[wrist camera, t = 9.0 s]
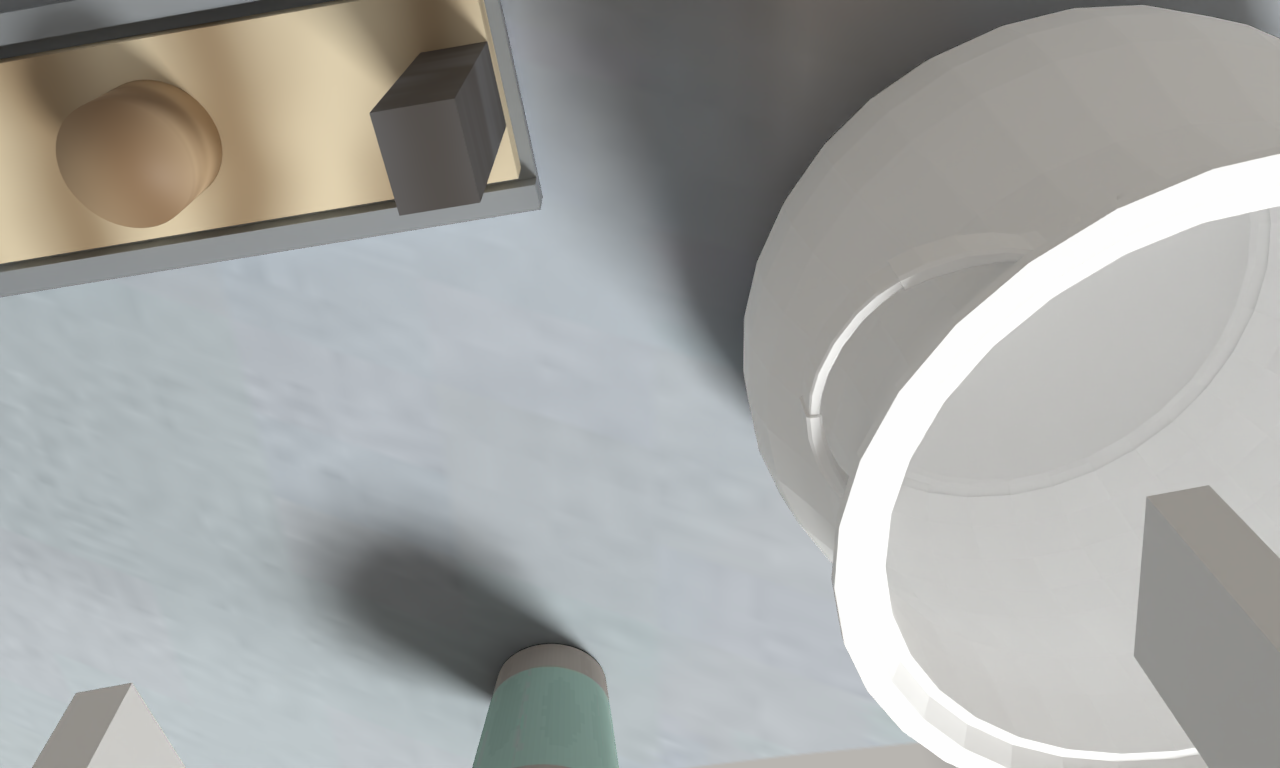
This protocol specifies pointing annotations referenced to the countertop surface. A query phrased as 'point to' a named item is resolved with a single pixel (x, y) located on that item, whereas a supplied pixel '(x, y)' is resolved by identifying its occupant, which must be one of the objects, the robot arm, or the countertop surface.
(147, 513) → the countertop surface
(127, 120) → the brown rounded piece
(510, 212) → the lane board
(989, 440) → the pot
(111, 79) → the strip
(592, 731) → the coffee cup
